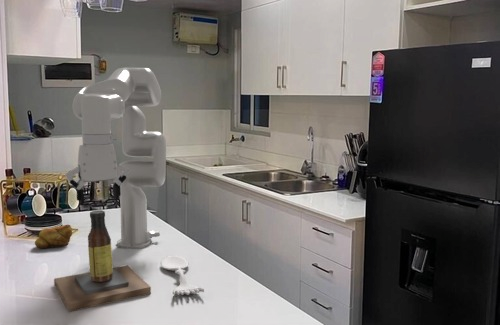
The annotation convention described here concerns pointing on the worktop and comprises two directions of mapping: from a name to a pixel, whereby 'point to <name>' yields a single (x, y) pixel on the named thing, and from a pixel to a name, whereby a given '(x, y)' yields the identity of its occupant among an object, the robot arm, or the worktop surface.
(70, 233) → the bread roll
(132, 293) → the walnut base
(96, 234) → the sauce bottle
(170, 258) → the double-ended spork
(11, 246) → the worktop surface
